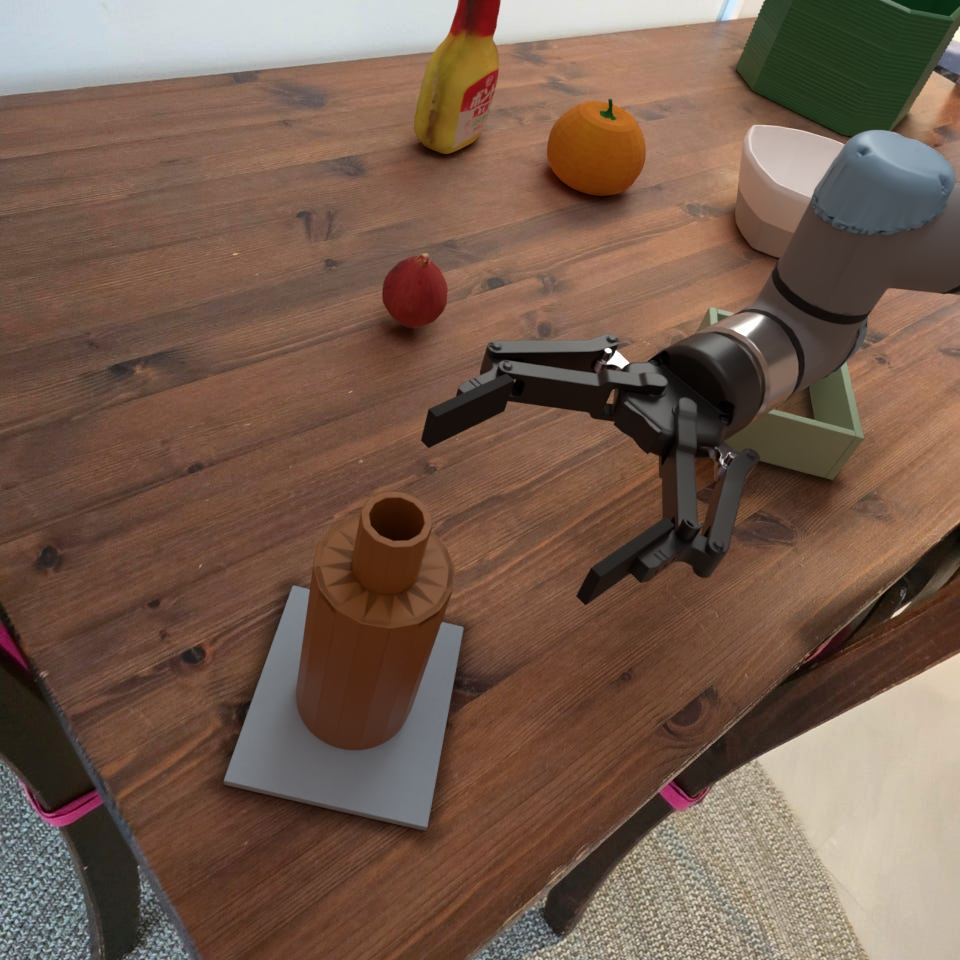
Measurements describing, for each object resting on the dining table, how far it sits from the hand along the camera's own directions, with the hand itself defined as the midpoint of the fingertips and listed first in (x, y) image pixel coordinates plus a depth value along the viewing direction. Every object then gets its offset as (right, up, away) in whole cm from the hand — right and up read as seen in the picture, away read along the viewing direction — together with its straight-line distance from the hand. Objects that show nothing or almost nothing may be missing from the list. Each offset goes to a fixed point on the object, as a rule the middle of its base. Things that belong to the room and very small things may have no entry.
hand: (503, 504), depth 50 cm
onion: (-8, +15, +32) cm, 36 cm away
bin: (+25, +8, +34) cm, 43 cm away
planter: (+54, +64, +94) cm, 126 cm away
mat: (-9, -13, +6) cm, 17 cm away
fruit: (+11, +38, +57) cm, 69 cm away
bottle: (-5, +42, +56) cm, 70 cm away
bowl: (+36, +31, +59) cm, 76 cm away
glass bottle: (-9, -12, +5) cm, 16 cm away
